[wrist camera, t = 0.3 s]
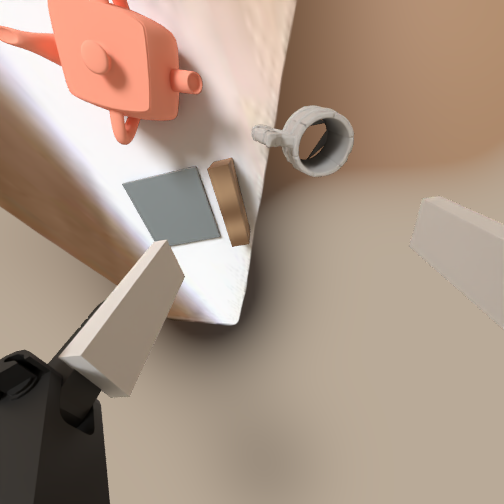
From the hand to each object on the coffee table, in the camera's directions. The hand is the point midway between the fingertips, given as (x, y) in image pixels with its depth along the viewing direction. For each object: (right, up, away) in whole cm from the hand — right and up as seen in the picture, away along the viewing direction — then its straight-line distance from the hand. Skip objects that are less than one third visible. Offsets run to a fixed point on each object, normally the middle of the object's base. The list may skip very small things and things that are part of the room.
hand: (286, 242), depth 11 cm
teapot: (-16, +23, +16) cm, 32 cm away
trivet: (-16, +7, +26) cm, 31 cm away
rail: (-5, +9, +24) cm, 26 cm away
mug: (+4, +17, +19) cm, 26 cm away
